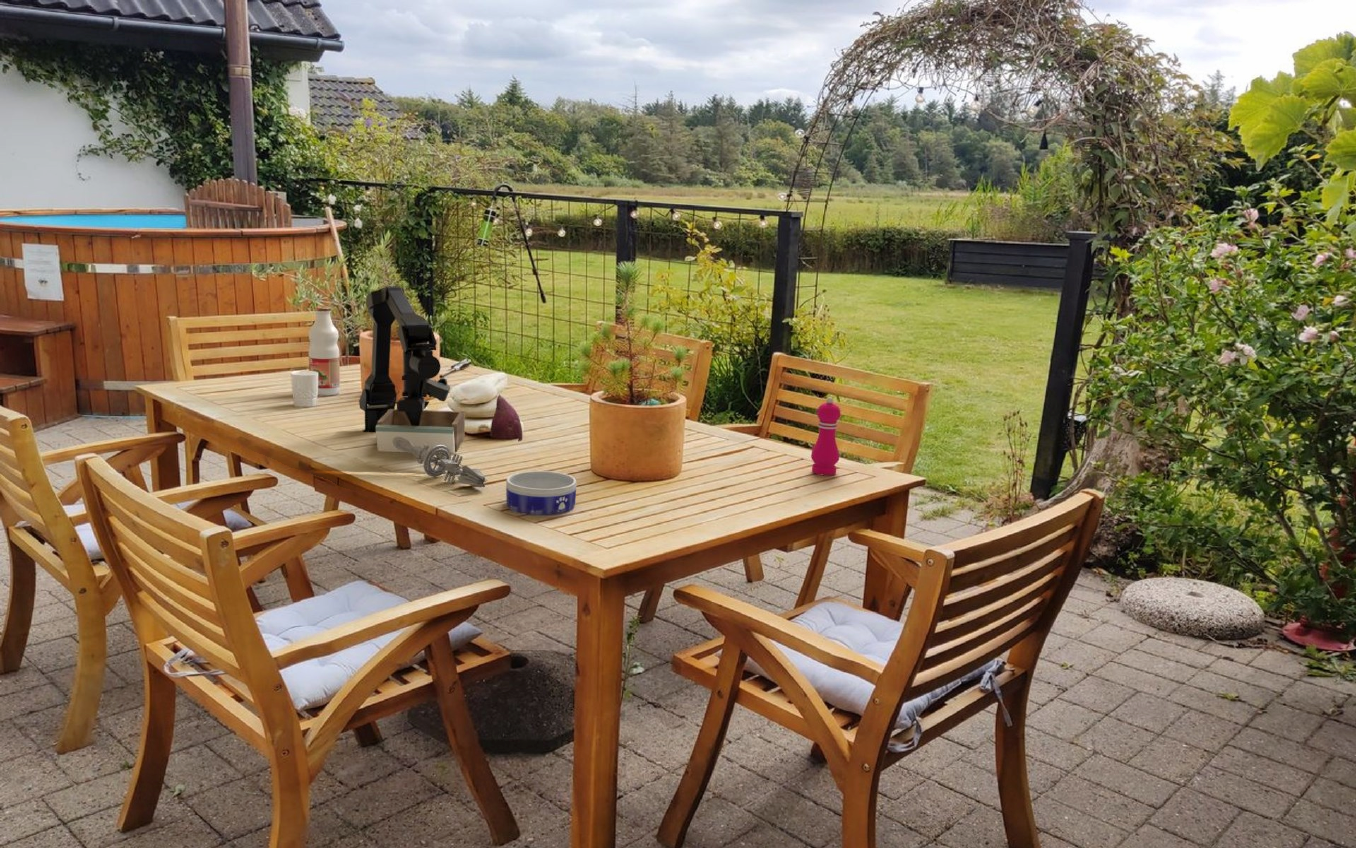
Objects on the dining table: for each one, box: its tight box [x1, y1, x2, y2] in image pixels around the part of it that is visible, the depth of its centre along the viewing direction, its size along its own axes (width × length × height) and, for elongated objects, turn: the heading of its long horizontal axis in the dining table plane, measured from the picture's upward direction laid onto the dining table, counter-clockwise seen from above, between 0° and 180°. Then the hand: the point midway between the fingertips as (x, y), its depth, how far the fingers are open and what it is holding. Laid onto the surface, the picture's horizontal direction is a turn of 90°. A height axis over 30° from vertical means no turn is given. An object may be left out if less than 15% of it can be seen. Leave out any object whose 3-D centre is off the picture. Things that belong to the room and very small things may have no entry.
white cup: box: [290, 370, 319, 408], centre depth 314 cm, size 8×8×10 cm
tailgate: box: [375, 425, 456, 455], centre depth 262 cm, size 19×1×8 cm, turn 94°
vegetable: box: [489, 394, 523, 442], centre depth 285 cm, size 10×9×14 cm
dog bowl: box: [505, 470, 577, 516], centre depth 227 cm, size 15×15×6 cm
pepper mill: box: [810, 396, 842, 476], centre depth 265 cm, size 7×7×20 cm
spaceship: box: [393, 437, 489, 488], centre depth 244 cm, size 8×35×8 cm
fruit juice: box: [308, 305, 341, 397], centre depth 331 cm, size 9×9×28 cm
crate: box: [377, 408, 466, 453], centre depth 272 cm, size 20×16×8 cm
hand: (416, 430), depth 262 cm, fingers closed, pressing on tailgate
